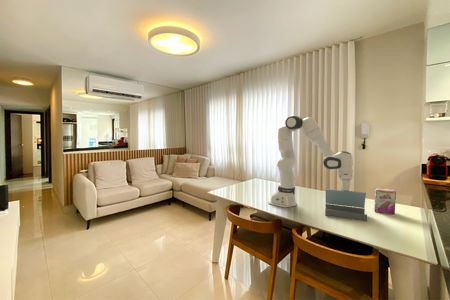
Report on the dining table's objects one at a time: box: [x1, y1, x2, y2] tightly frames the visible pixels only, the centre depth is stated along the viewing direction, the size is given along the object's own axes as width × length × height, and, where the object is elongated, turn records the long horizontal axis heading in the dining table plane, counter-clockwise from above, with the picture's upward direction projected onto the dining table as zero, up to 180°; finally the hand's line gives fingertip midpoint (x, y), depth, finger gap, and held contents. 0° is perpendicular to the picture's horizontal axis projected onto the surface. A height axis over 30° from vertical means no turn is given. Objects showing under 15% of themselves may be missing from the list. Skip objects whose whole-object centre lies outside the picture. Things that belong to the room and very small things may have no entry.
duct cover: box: [325, 188, 367, 209], centre depth 142 cm, size 24×13×1 cm
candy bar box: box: [373, 187, 397, 215], centre depth 141 cm, size 11×5×16 cm, turn 59°
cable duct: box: [324, 203, 368, 223], centre depth 139 cm, size 24×12×4 cm, turn 62°
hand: (344, 193), depth 142 cm, fingers closed
